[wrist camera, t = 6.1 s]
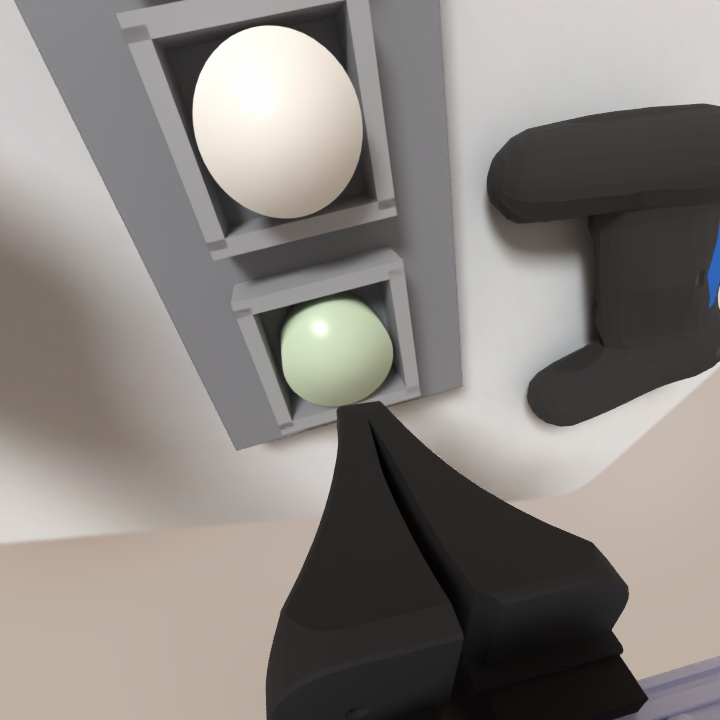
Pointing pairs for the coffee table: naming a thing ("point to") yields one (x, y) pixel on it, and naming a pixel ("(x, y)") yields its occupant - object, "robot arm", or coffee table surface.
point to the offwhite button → (277, 122)
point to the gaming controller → (627, 245)
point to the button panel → (259, 232)
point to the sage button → (335, 349)
